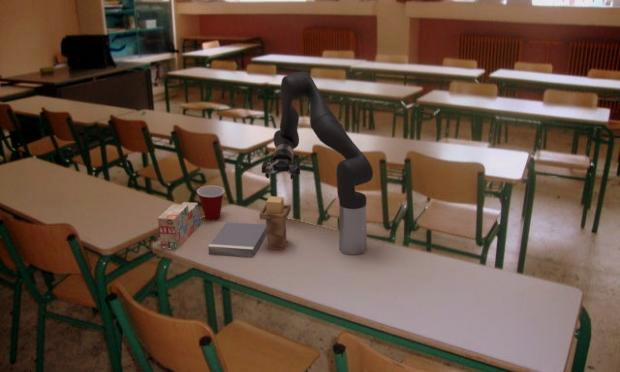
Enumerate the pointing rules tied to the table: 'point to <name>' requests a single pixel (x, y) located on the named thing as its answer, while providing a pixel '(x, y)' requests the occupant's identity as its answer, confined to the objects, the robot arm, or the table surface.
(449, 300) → the table surface
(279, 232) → the stand
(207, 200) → the plastic cup
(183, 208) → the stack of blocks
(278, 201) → the carton
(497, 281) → the table surface
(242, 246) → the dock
